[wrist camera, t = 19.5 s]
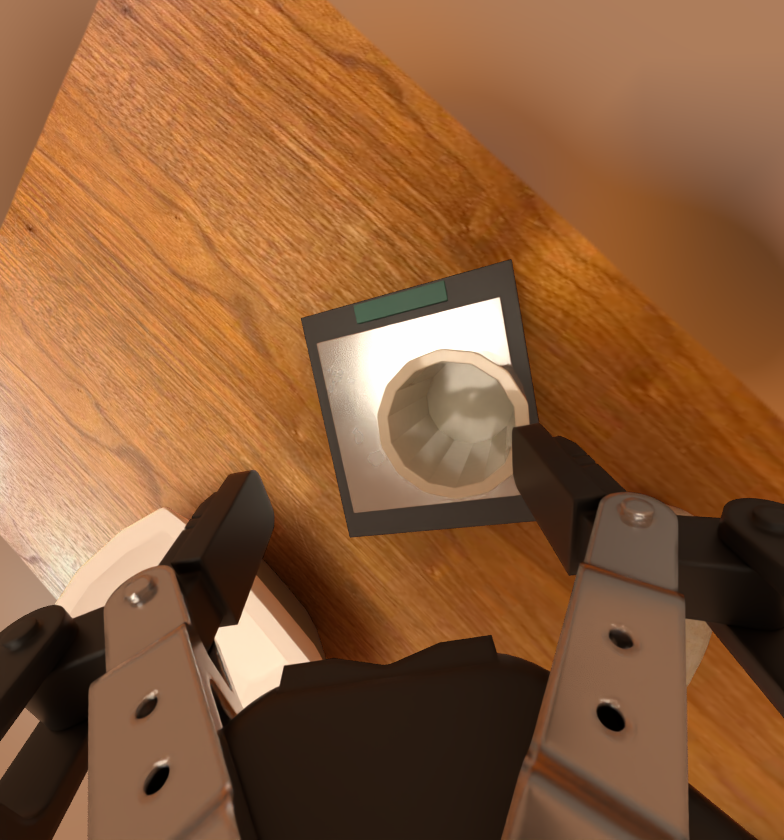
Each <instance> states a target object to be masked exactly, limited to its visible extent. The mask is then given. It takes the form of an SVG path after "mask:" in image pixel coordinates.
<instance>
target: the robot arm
mask: <svg viewBox="0 0 784 840" xmlns="http://www.w3.org/2000/svg"><path fill="white" fill-rule="evenodd" d="M512 467H513V477H514V481H515V484H516V487H517V489H518V491H519V493H520V494H521V496H522V498H523V499H524V501H525V503H526V504H527V506H528V508H529V509H530V511H531V513H532V514H533V516H534V518H535V519H536V521H537V523H538V524H539V526H540V528H541V530H542V531H543V533H544V535H545V536H546V538H547V540H548V541H549V543H550V545H551V546H552V548H553V550H554V551H555V553H556V555H557V556H558V558H559V560H560V561H561V563H562V565H563V566H564V568H565V570H566V571H567V573H568V575H569V576H570V575H576V578H575V582H574V586H573V590H572V593H571V597H570V601H569V604H568V608H567V612H566V616H565V619H564V623H563V627H562V630H561V634H560V638H559V642H558V645H557V649H556V653H555V656H554V660H553V664H552V668H551V671H548V670H546V669H544V668H542V667H540V666H538V665H536V664H534V663H532V662H529V661H527V660H524V659H522V658H518V657H515V656H511V655H507V654H501V653H497V652H496V649H495V645H494V642H493V639H492V635H488V636H481V637H474V638H468V639H461V640H454V641H447V642H440V643H438V644H435V645H433V646H431V647H428V648H426V649H424V650H422V651H419V652H417V653H415V654H412V655H410V656H408V657H405V658H403V659H401V660H399V661H396V662H394V663H391V664H388V665H379V664H372V663H365V662H358V661H351V660H344V659H337V658H332V659H325V660H318V661H311V662H305V663H298V664H291V665H284V667H283V672H282V676H281V681H280V685H279V686H278V687H275V688H273V689H272V690H270V691H268V692H266V693H265V694H263V695H261V696H260V697H258V698H257V699H256V700H254V701H253V702H251V703H250V704H249V705H248V706H246V707H245V708H244V709H243V707H242V704H241V702H240V700H239V697H238V695H237V692H236V689H235V687H234V684H233V681H232V679H231V676H230V673H229V671H228V668H227V665H226V663H225V660H224V657H223V655H222V652H221V649H220V647H219V644H218V643H217V641H216V639H215V636H216V633H217V631H218V629H219V627H226V626H232V625H238V623H239V620H240V617H241V615H242V612H243V609H244V607H245V604H246V601H247V598H248V596H249V593H250V590H251V588H252V585H253V582H254V580H255V577H256V574H257V572H258V569H259V566H260V563H261V561H262V558H263V555H264V553H265V550H266V547H267V545H268V542H269V539H270V537H271V534H272V531H273V528H274V521H275V520H274V511H273V508H272V505H271V503H270V500H269V498H268V495H267V493H266V490H265V488H264V485H263V483H262V480H261V478H260V475H259V474H258V472H257V471H255V470H251V471H245V472H239V473H233V474H230V475H228V476H227V478H226V479H225V481H224V482H223V484H222V485H221V487H220V488H219V490H218V491H217V492H215V493H213V494H212V495H211V496H210V497H209V498H207V499H206V500H205V501H204V502H203V503H202V504H200V506H199V507H198V509H197V510H196V512H195V513H194V514H193V516H192V519H190V520H189V522H188V523H187V525H186V526H185V527H184V528H185V530H182V532H181V533H180V535H179V536H178V537H177V539H176V540H175V542H174V543H173V545H172V546H171V547H170V549H169V550H168V552H167V553H166V555H165V556H164V558H163V559H162V560H161V562H160V563H159V565H158V566H154V567H151V568H148V569H145V570H143V571H141V572H139V573H137V574H135V575H134V576H132V577H130V578H129V579H127V580H126V581H125V582H124V583H122V584H121V585H120V586H119V587H118V588H117V589H116V590H115V591H114V592H113V593H112V594H111V596H110V597H109V598H108V600H107V602H106V604H105V606H103V607H100V608H98V609H95V610H93V611H90V612H88V613H85V614H83V615H80V616H78V617H75V618H72V617H71V616H70V615H69V614H68V612H67V611H66V610H65V609H64V608H63V607H62V606H59V605H51V606H47V607H43V608H40V609H37V610H35V611H33V612H31V613H29V614H27V615H25V616H23V617H21V618H20V619H18V620H17V621H15V622H13V623H12V624H11V625H9V626H8V627H7V628H5V629H4V630H3V631H2V632H0V741H1V739H2V738H3V737H4V735H5V734H6V733H7V731H8V730H9V729H10V727H11V726H12V724H13V723H14V721H15V720H16V719H17V717H18V716H19V715H20V713H21V712H22V711H23V709H24V708H26V709H27V710H28V711H30V712H31V713H32V714H33V715H34V716H35V717H36V718H37V719H38V720H40V722H39V723H38V725H37V726H36V728H35V729H34V731H33V732H32V734H31V735H30V737H29V738H28V740H27V741H26V743H25V744H24V746H23V747H22V749H21V750H20V752H19V753H18V755H17V756H16V758H15V759H14V761H13V762H12V763H11V765H10V766H9V768H8V769H7V771H6V773H5V774H4V775H3V777H2V778H1V780H0V840H52V839H53V836H54V835H55V833H56V831H57V829H58V827H59V825H60V823H61V821H62V819H63V817H64V815H65V813H66V811H67V809H68V808H69V806H70V804H71V802H72V800H73V798H74V796H75V794H76V792H77V790H78V788H79V786H80V784H81V782H82V780H83V778H84V776H85V774H86V773H87V771H88V840H757V839H756V838H755V837H754V836H753V835H751V834H750V833H749V832H748V831H746V830H745V829H744V828H743V827H742V826H740V825H739V824H738V823H737V822H735V821H734V820H733V819H732V818H731V817H729V816H728V815H727V814H726V813H725V812H723V811H722V810H721V809H720V808H718V807H717V806H716V805H715V804H714V803H712V802H711V801H710V800H709V799H707V798H706V797H705V796H704V795H703V794H701V793H700V792H699V791H698V790H696V789H695V788H694V787H693V786H692V785H690V784H689V783H688V747H687V685H686V623H685V619H692V620H699V621H705V622H706V623H707V625H708V626H709V627H710V628H711V630H712V631H713V632H714V633H715V634H716V636H717V637H718V638H719V639H720V641H721V642H722V643H723V644H724V645H725V647H726V648H727V649H728V650H729V652H730V653H731V654H732V655H733V656H734V658H735V659H736V660H737V661H738V663H739V664H740V665H741V666H742V667H743V669H744V670H745V671H746V672H747V674H748V675H749V676H750V677H751V679H752V680H753V681H754V682H755V683H756V685H757V686H758V687H759V688H760V690H761V691H762V692H763V693H764V694H765V696H766V697H767V698H768V699H769V701H770V702H771V703H772V704H773V705H774V707H775V708H776V709H777V710H778V712H779V713H780V714H781V715H782V716H783V718H784V504H781V503H778V502H774V501H769V500H764V499H756V498H741V499H735V500H732V501H730V502H728V503H727V504H726V505H725V506H724V509H723V512H722V515H721V518H712V517H697V516H683V515H676V514H675V513H674V511H673V510H672V509H671V508H670V507H669V506H667V505H666V504H664V503H663V502H661V501H659V500H657V499H655V498H653V497H650V496H647V495H643V494H639V493H633V492H627V491H626V490H625V489H624V488H623V487H621V486H620V485H619V484H618V483H617V482H616V481H615V480H614V479H613V478H612V477H611V476H610V475H609V474H608V473H607V472H606V471H605V470H604V469H603V468H602V467H601V466H599V465H598V464H596V463H595V461H594V460H593V459H592V458H591V457H590V456H589V455H587V453H586V452H585V451H584V450H583V449H582V448H581V447H580V446H579V445H577V444H576V443H575V442H572V441H570V440H568V439H566V438H564V437H562V436H556V437H552V435H551V434H550V433H549V432H548V431H547V430H546V429H545V428H544V427H543V426H542V425H541V424H540V423H535V424H529V425H523V426H517V427H513V429H512Z"/></svg>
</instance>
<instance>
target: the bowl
mask: <svg viewBox="0 0 784 840" xmlns="http://www.w3.org/2000/svg"><path fill="white" fill-rule="evenodd" d="M188 522H189V520H188V519H186V518H185V517H183V516H182V515H180V514H178V513H177V512H175V511H173V510H172V509H170V508H168V507H163V508H160V509H158V510H156V511H155V512H153V513H151V514H149V515H148V516H146V517H144V518H142V519H141V520H139V521H137V522H135V523H134V524H132V525H130V526H128V527H127V528H125V529H123V530H121V531H120V532H119V533H118V534H116V535H115V536H114V537H113V538H112V539H111V540H110V541H109V542H108V543H107V544H106V545H104V546H103V547H102V548H101V549H100V550H99V551H98V552H97V553H96V554H95V555H94V556H93V557H91V558H90V559H89V560H88V561H87V562H86V563H85V564H84V565H83V566H82V567H81V568H79V569H78V571H77V572H76V574H75V575H74V577H73V578H72V580H71V581H70V583H69V584H68V586H67V587H66V589H65V590H64V592H63V593H62V595H61V596H60V598H59V599H58V601H57V602H56V604H55V605H59V606H62V607H63V608H64V609H65V610H66V611H67V612H68V614H69V615H70V616H71V617H72V618H75V617H78V616H80V615H83V614H85V613H88V612H90V611H93V610H95V609H98V608H100V607H103V606H105V604H106V602H107V600H108V598H109V597H110V596H111V594H112V593H113V592H114V591H115V590H116V589H117V588H118V587H119V586H120V585H121V584H122V583H124V582H125V581H126V580H127V579H129V578H130V577H132V576H134V575H135V574H137V573H139V572H141V571H143V570H145V569H148V568H151V567H154V566H158V565H159V563H160V562H161V560H162V559H163V558H164V556H165V555H166V553H167V552H168V550H169V549H170V547H171V546H172V545H173V543H174V542H175V540H176V539H177V537H178V536H179V535H180V533H181V532H182V530H185V528H184V527H185V526H186V525H187V523H188ZM215 639H216V641H217V643H218V644H219V647H220V649H221V652H222V655H223V657H224V660H225V663H226V665H227V668H228V671H229V673H230V676H231V679H232V681H233V684H234V687H235V689H236V692H237V695H238V697H239V700H240V702H241V704H242V707H243V709H244V708H245V707H246V706H248V705H249V704H250V703H251V702H253V701H254V700H256V699H257V698H258V697H260V696H261V695H263V694H265V693H266V692H268V691H270V690H272V689H273V688H275V687H278V686H279V685H280V681H281V676H282V672H283V667H284V665H291V664H298V663H305V662H311V661H318V660H325V659H326V658H325V654H324V651H323V648H322V644H321V641H320V638H319V635H318V631H317V629H316V627H315V625H314V623H313V622H312V620H311V618H310V616H309V614H308V612H307V610H306V609H305V608H304V607H303V605H302V604H301V603H300V602H299V601H298V599H297V598H296V597H295V596H294V595H293V593H292V592H291V591H290V590H289V589H288V587H287V586H286V585H285V584H284V583H283V581H282V580H281V579H280V578H279V577H278V576H277V574H276V573H275V572H274V571H273V570H272V569H271V567H270V566H269V565H268V564H267V563H266V562H265V561H264V560H262V561H261V563H260V566H259V569H258V572H257V574H256V577H255V580H254V582H253V585H252V588H251V590H250V593H249V596H248V598H247V601H246V604H245V607H244V609H243V612H242V615H241V617H240V620H239V623H238V625H232V626H226V627H219V629H218V631H217V633H216V636H215Z"/></svg>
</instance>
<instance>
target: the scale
mask: <svg viewBox="0 0 784 840" xmlns="http://www.w3.org/2000/svg"><path fill="white" fill-rule="evenodd" d="M499 296H500V297H501V303H502V309H503V314H504V320H505V326H506V332H507V338H508V343H509V349H510V355H511V361H512V367H513V369H514V371H515V372H516V374H517V376H518V377H519V379H520V381H521V382H522V385H523V388H524V392H525V395H526V399H527V402H528V409H529V423H530V424H535V423H539V420H538V414H537V408H536V402H535V396H534V390H533V384H532V378H531V372H530V366H529V360H528V354H527V348H526V342H525V336H524V330H523V324H522V318H521V312H520V306H519V300H518V294H517V288H516V282H515V276H514V270H513V264H512V260H511V259H510V260H506V261H503V262H499V263H496V264H492V265H489V266H485V267H481V268H478V269H474V270H471V271H467V272H464V273H460V274H457V275H453V276H449V277H446V278H442V279H439V280H435V281H432V282H428V283H425V284H421V285H417V286H414V287H410V288H407V289H403V290H400V291H396V292H393V293H389V294H385V295H382V296H378V297H375V298H371V299H368V300H364V301H361V302H357V303H353V304H350V305H346V306H343V307H339V308H336V309H332V310H328V311H325V312H321V313H318V314H314V315H311V316H307V317H304V318H301V321H302V326H303V330H304V335H305V339H306V344H307V348H308V352H309V357H310V361H311V366H312V370H313V375H314V379H315V384H316V388H317V393H318V397H319V402H320V406H321V411H322V415H323V420H324V424H325V429H326V433H327V437H328V442H329V446H330V451H331V455H332V460H333V464H334V469H335V473H336V478H337V482H338V487H339V491H340V496H341V500H342V505H343V509H344V514H345V518H346V522H347V527H348V531H349V536H350V537H361V536H372V535H383V534H395V533H406V532H417V531H429V530H440V529H451V528H462V527H474V526H485V525H496V524H508V523H519V522H530V521H536V519H535V518H534V516H533V514H532V513H531V511H530V509H529V508H528V506H527V504H526V503H525V501H524V499H523V498H522V496H521V495H517V496H508V497H499V498H490V499H480V500H471V501H462V502H453V503H443V504H434V505H425V506H416V507H407V508H397V509H388V510H379V511H370V512H360V513H354V511H353V507H352V502H351V498H350V493H349V489H348V484H347V480H346V475H345V471H344V466H343V462H342V457H341V453H340V448H339V444H338V439H337V435H336V430H335V426H334V421H333V416H332V412H331V407H330V403H329V398H328V394H327V389H326V385H325V380H324V376H323V371H322V367H321V362H320V358H319V353H318V349H317V343H319V342H323V341H327V340H331V339H335V338H339V337H343V336H346V335H350V334H354V333H358V332H362V331H366V330H370V329H374V328H378V327H382V326H385V325H389V324H393V323H397V322H401V321H405V320H409V319H413V318H417V317H421V316H425V315H428V314H432V313H436V312H440V311H444V310H448V309H452V308H456V307H460V306H464V305H467V304H471V303H475V302H479V301H483V300H487V299H491V298H495V297H499Z"/></svg>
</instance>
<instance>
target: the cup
mask: <svg viewBox="0 0 784 840" xmlns="http://www.w3.org/2000/svg"><path fill="white" fill-rule="evenodd" d="M377 420H378V428H379V435H380V442H381V446H382V449H383V451H384V452H385V454H386V455H387V457H388V459H389V460H390V462H391V464H392V465H393V467H394V468H395V470H396V472H397V473H398V474H399V475H400V476H402V477H403V478H404V479H406V480H407V481H409V482H410V483H412V484H413V485H414V486H416V487H417V488H419V489H420V490H421V491H423V492H425V493H429V494H433V495H438V496H443V497H447V498H452V499H461V498H466V497H470V496H475V495H479V494H484V493H488V492H490V491H492V490H493V489H494V488H495V487H497V486H498V485H499V484H501V483H502V482H503V481H504V480H506V479H507V478H508V477H509V476H511V475H512V474H513V467H512V429H513V427H517V426H523V425H529V424H530V423H529V409H528V402H527V399H526V395H525V392H524V388H523V385H522V382H521V381H520V379H519V377H518V376H517V374H516V372H515V371H514V369H513V368H512V366H511V364H509V362H507V361H505V360H504V359H502V358H501V357H499V356H498V355H496V354H494V353H492V352H490V351H488V350H479V349H467V348H442V349H437V350H435V351H432V352H430V353H427V354H424V355H422V356H419V357H417V358H414V359H411V360H409V361H408V362H407V363H406V364H405V365H404V366H403V367H402V368H401V369H400V370H399V371H398V372H397V373H396V375H395V376H394V377H393V378H392V379H391V380H390V381H389V382H388V383H387V385H386V387H385V390H384V393H383V396H382V400H381V403H380V406H379V410H378V413H377Z"/></svg>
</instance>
